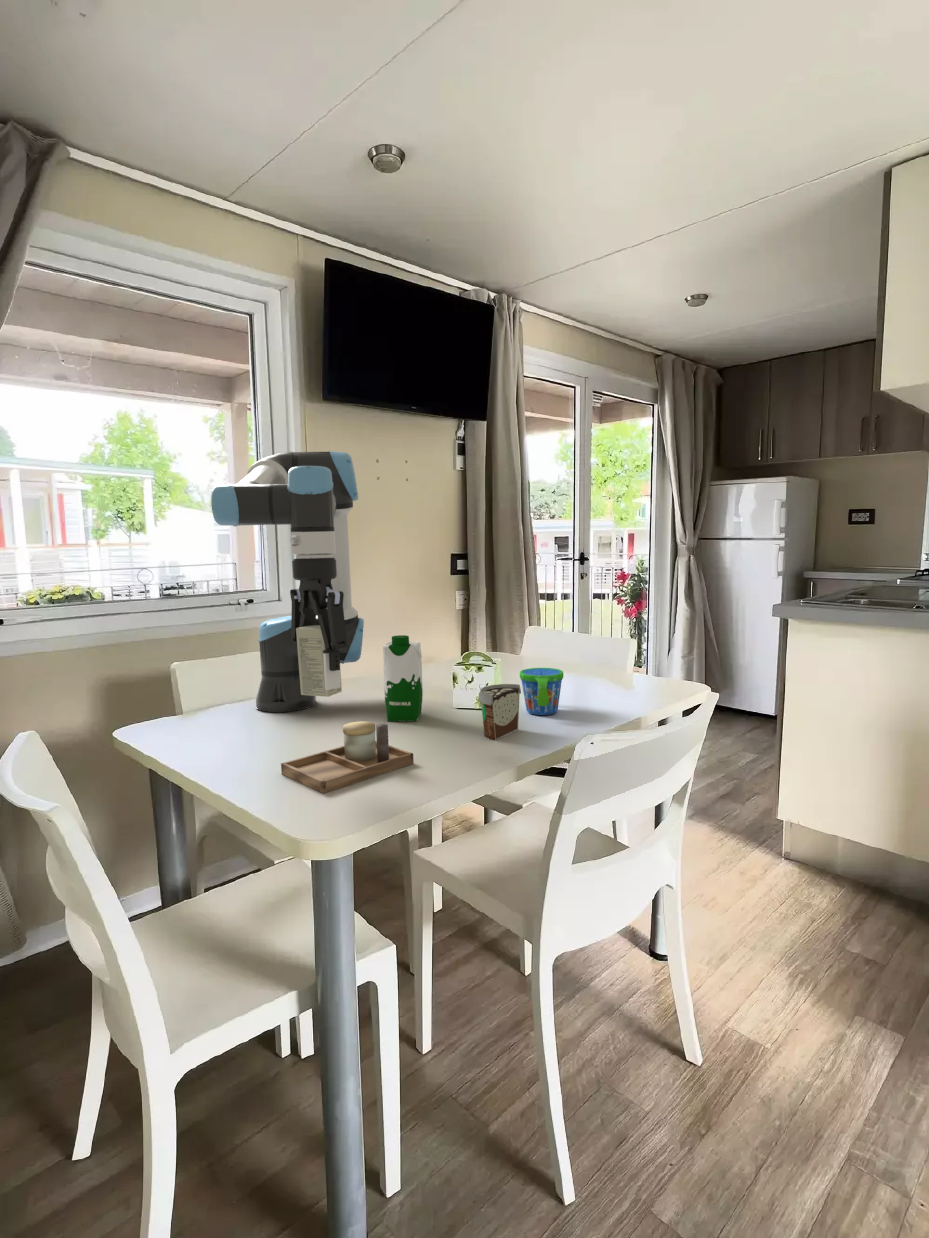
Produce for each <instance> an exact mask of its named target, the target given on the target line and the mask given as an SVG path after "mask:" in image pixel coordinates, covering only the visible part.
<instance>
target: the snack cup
mask: <svg viewBox="0 0 929 1238" xmlns="http://www.w3.org/2000/svg"><path fill="white" fill-rule="evenodd" d="M519 678H520V681H521V685H522V693H523V697H524V704H525V709H526V711H527V712H528V714H531V715H535V716H550V715H553V714H556V713H557V712H558V710H559V703H560V698H561V689H562V682H563V679H564V671H563V670H561V669H560V668H559V669H558V668H554V667H553V668H551V667H533V668H532V667H531V668H525V669H522V670H520V671H519Z"/></svg>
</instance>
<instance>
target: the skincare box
mask: <svg viewBox="0 0 929 1238" xmlns="http://www.w3.org/2000/svg"><path fill="white" fill-rule="evenodd" d="M296 635H297V648H298V661H299V675H300V688H301V695H310V696H316V697H326V698H328V697H331V696H333V695H337V694H339V693H341V692H343V691H342V690H343V689H342V687H343V686H342V674H341V671H340V688H336V689H331V690H325V680H324V660H323V650H326V648H325V644H324V640H323V636H322V632H321V628H320V626H304V627H299V628H296Z"/></svg>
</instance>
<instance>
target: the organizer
mask: <svg viewBox="0 0 929 1238" xmlns="http://www.w3.org/2000/svg"><path fill="white" fill-rule="evenodd" d="M342 733H343V746H337V747H335V748H332V749H328V750H325V751H321V752H316V753H313V754H311V755H307V756H303V757H299V758H296V759H292V760H288V761H286V762H281V763H280V765H281V766H280V767H281V768H280V769H281V775H283V776H285V777H287V778H289V779H292V780H294V781H296V782H297V783H300V784H302V785H305V786H306V787H309V788H310V789H313V790H315V791H317V792H319V793H321V794H326V793H329V792H332V791H334V790H338V789H341V788H344V787H347V786H350V785H353V784H356V783H359V782H362V781H364V780H369V779H371V778H374V777H377V776H380V775H384V774H386V773H389V772H392V771H395V770H399V769H402V768H405V767H407V766H410V765H414V753H413V752H410V751H407V750H404V749H400V748H399V747H395V746H392V745H390V744H389V724H386V723H378V724H376V723H374V722H372V721H354V722H348V723H345V724H344V725H343V726H342Z"/></svg>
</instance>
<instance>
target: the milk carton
mask: <svg viewBox="0 0 929 1238" xmlns="http://www.w3.org/2000/svg"><path fill="white" fill-rule="evenodd" d="M382 648H383V650H382V651H383V655H382V657H383V661H382V662H383V682H384V683H383V684H384V685H383V688H384V702H385V703H384V704H385V713H386V720H387V722H417V720H418V719H419V718H420V717H421V714H422V707H423V696H424V695H423V694H424V693H423V667H422V666H423V665H422V664H423V663H422V662H423V661H422V658H423V656H422V649H421V648H422V647H421V641H410V636H409V635H405V634H403V635H402V634H401V635H392V636H391V641H390V642H387V643H386V644H384V645H383V647H382Z"/></svg>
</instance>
